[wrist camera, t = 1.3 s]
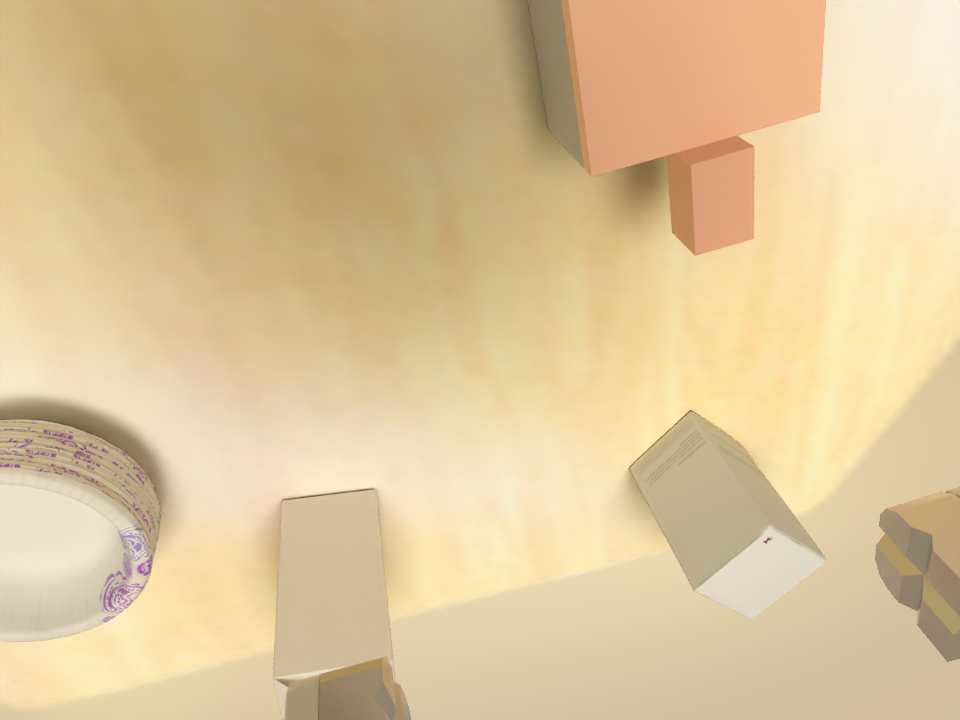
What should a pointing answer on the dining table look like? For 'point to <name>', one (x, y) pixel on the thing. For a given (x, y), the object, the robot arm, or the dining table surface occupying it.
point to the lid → (692, 95)
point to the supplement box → (723, 518)
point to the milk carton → (329, 588)
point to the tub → (556, 73)
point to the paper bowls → (69, 530)
